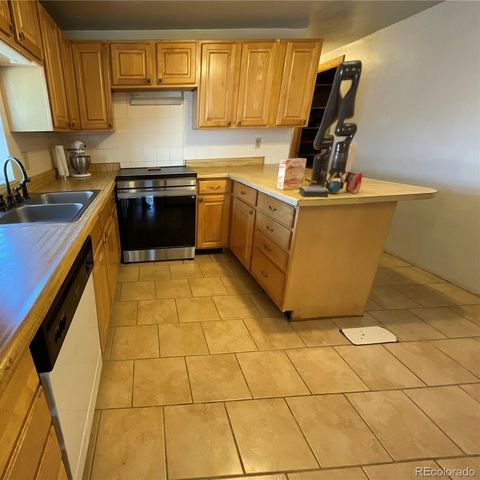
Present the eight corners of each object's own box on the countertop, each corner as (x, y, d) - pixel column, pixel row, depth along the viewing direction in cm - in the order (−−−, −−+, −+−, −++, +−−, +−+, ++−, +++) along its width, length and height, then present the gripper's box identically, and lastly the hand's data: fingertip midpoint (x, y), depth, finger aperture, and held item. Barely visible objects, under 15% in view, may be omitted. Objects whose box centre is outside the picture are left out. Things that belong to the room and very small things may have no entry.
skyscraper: (346, 183, 188) (354, 141, 178) (334, 182, 194) (342, 141, 184) (351, 182, 192) (360, 141, 182) (340, 181, 198) (348, 141, 188)
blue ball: (326, 190, 164) (327, 181, 162) (337, 190, 162) (339, 181, 160) (329, 192, 159) (331, 182, 156) (340, 192, 157) (343, 182, 155)
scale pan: (302, 188, 165) (302, 186, 165) (320, 188, 162) (320, 186, 162) (306, 191, 156) (306, 189, 156) (325, 192, 154) (325, 189, 153)
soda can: (360, 193, 157) (365, 172, 153) (347, 193, 159) (352, 173, 154) (355, 191, 164) (359, 171, 159) (342, 191, 165) (346, 171, 161)
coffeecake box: (282, 190, 176) (286, 159, 169) (276, 188, 183) (279, 159, 176) (302, 188, 179) (307, 158, 172) (295, 186, 185) (299, 157, 178)
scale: (298, 192, 168) (299, 187, 167) (321, 192, 165) (322, 187, 164) (303, 196, 156) (304, 191, 155) (328, 197, 152) (329, 192, 151)
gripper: (351, 159, 155) (345, 188, 161) (323, 160, 159) (318, 187, 165) (356, 160, 148) (349, 190, 155) (327, 161, 152) (322, 190, 159)
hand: (333, 189), depth 160 cm, fingers closed on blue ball, 6 cm apart
